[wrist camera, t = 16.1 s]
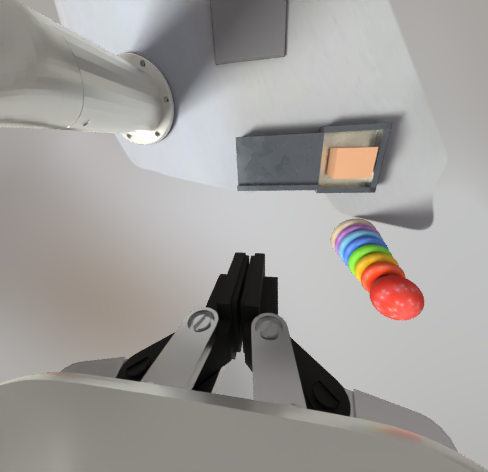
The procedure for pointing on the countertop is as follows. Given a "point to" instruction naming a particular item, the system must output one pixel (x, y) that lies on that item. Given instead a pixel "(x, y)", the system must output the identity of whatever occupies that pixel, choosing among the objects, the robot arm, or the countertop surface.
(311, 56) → the countertop surface
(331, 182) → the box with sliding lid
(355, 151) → the tan cardboard box
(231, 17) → the mat
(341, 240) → the stacking toy
